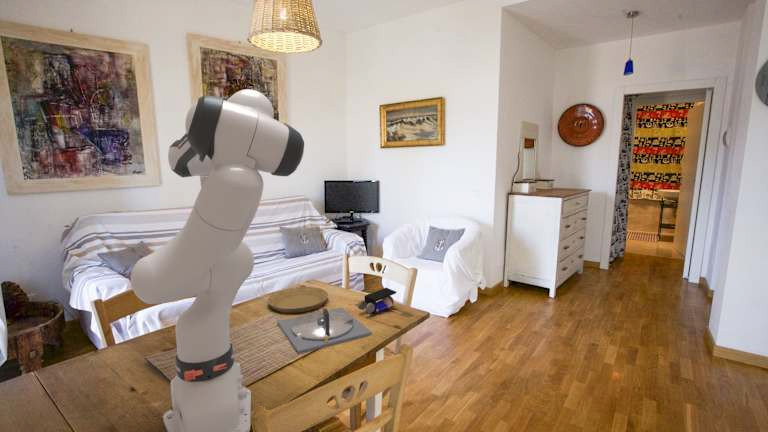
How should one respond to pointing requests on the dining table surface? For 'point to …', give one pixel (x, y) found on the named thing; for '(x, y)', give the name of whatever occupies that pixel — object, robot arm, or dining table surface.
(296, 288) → the plant saucer
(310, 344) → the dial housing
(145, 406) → the dining table surface
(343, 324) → the dial
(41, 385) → the dining table surface
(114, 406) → the dining table surface
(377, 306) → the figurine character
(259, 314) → the dining table surface
